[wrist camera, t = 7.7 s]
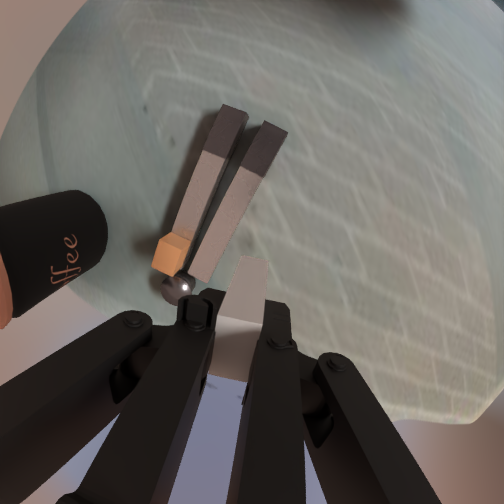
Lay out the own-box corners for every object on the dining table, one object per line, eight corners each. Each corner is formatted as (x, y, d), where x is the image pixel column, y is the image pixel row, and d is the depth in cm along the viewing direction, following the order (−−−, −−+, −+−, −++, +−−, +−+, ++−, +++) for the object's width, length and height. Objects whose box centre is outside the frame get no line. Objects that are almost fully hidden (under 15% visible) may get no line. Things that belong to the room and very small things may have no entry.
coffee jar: (86, 280, 34) (-2, 346, 17) (46, 224, 32) (-48, 264, 15) (126, 233, 31) (17, 294, 14) (80, 171, 29) (-34, 191, 12)
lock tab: (182, 266, 29) (172, 276, 26) (162, 257, 29) (151, 266, 26) (191, 241, 28) (181, 250, 25) (170, 232, 28) (159, 239, 25)
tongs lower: (192, 299, 33) (185, 311, 30) (159, 283, 33) (150, 293, 30) (267, 124, 26) (266, 119, 24) (227, 108, 26) (222, 102, 23)
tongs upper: (212, 275, 32) (207, 284, 29) (193, 265, 32) (186, 273, 29) (287, 135, 26) (288, 132, 24) (265, 124, 26) (264, 120, 24)
